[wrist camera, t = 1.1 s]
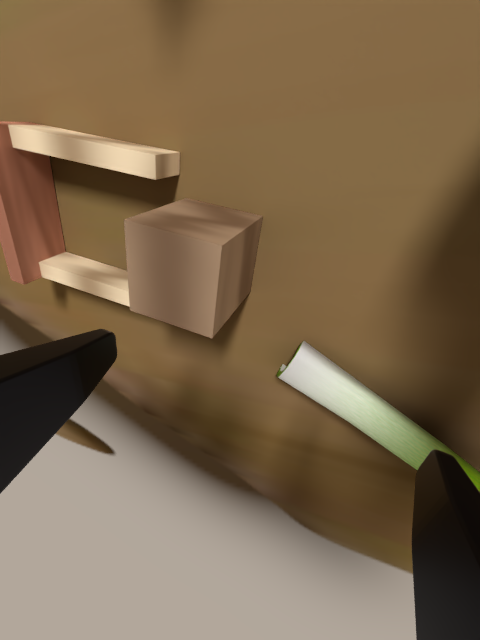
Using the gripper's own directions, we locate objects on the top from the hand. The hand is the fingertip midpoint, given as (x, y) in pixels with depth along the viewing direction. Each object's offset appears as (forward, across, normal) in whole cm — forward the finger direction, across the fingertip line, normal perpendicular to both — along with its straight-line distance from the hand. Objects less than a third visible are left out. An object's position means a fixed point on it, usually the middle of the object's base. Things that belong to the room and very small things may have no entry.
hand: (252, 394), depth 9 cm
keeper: (+12, +6, +1) cm, 14 cm away
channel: (+12, +14, +1) cm, 19 cm away
